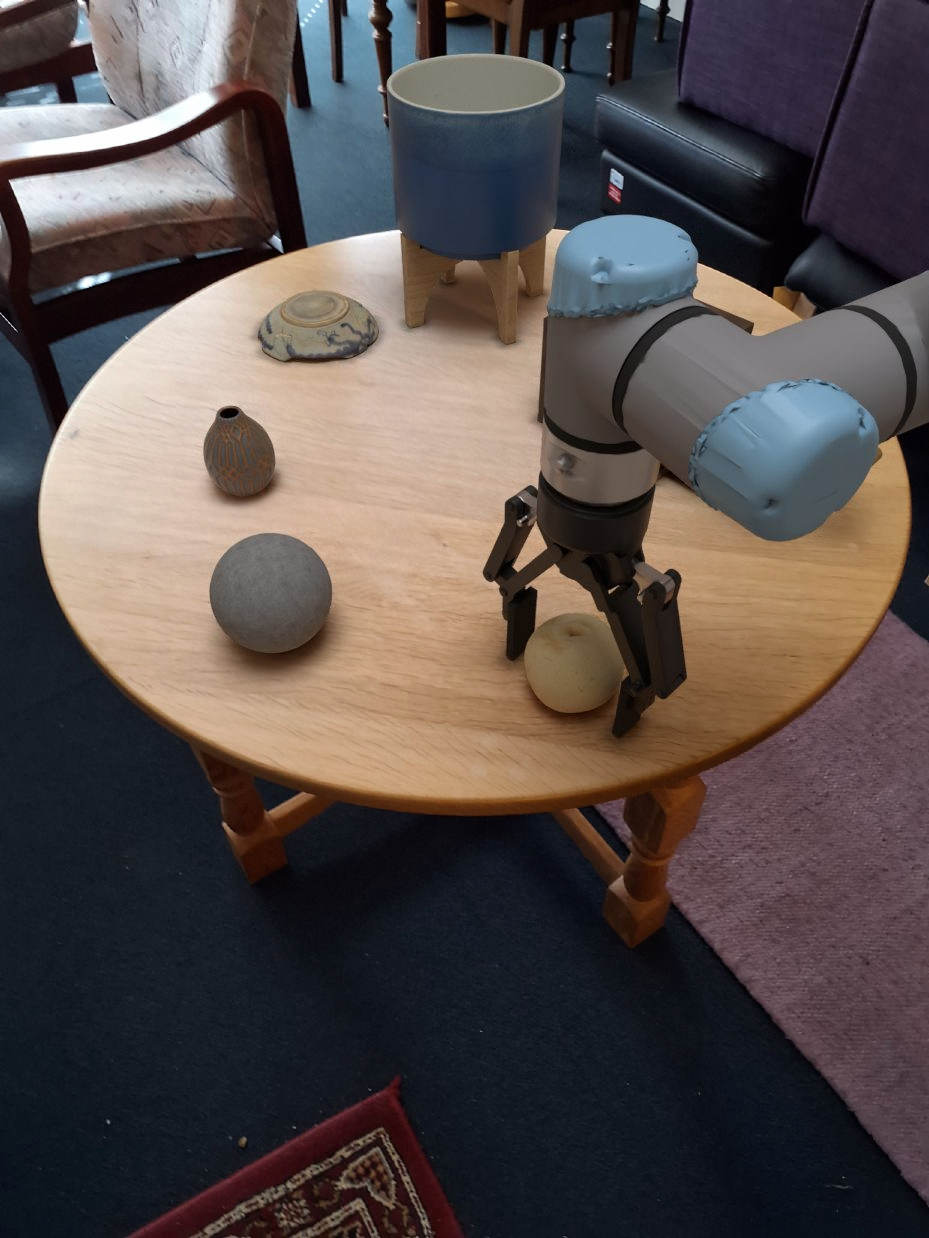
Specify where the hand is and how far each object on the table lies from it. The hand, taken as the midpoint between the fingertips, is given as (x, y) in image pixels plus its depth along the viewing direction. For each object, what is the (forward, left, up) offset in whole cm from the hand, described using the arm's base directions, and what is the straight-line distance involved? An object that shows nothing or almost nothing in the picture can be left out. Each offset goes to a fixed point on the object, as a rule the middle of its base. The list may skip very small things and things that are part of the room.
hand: (571, 686), depth 74 cm
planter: (+49, -39, 0) cm, 63 cm away
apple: (0, 0, 0) cm, 0 cm away
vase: (+41, +3, 0) cm, 41 cm away
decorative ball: (+22, +13, 0) cm, 26 cm away
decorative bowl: (+59, -21, 0) cm, 63 cm away
